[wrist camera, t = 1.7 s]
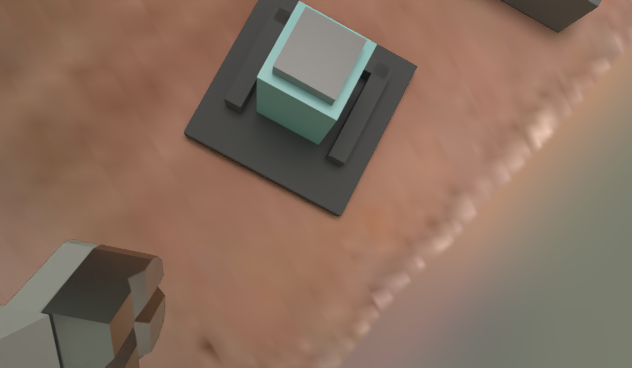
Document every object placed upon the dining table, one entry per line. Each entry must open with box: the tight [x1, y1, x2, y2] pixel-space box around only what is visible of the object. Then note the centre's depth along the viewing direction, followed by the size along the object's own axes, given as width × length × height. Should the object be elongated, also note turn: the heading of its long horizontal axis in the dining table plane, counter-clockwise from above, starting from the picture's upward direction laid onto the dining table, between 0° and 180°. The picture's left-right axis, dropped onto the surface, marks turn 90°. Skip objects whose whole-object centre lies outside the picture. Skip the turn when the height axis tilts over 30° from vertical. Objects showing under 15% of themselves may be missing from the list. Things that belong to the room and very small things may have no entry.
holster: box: [184, 0, 417, 216], centre depth 30 cm, size 10×10×2 cm
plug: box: [257, 1, 377, 145], centre depth 27 cm, size 4×4×8 cm
